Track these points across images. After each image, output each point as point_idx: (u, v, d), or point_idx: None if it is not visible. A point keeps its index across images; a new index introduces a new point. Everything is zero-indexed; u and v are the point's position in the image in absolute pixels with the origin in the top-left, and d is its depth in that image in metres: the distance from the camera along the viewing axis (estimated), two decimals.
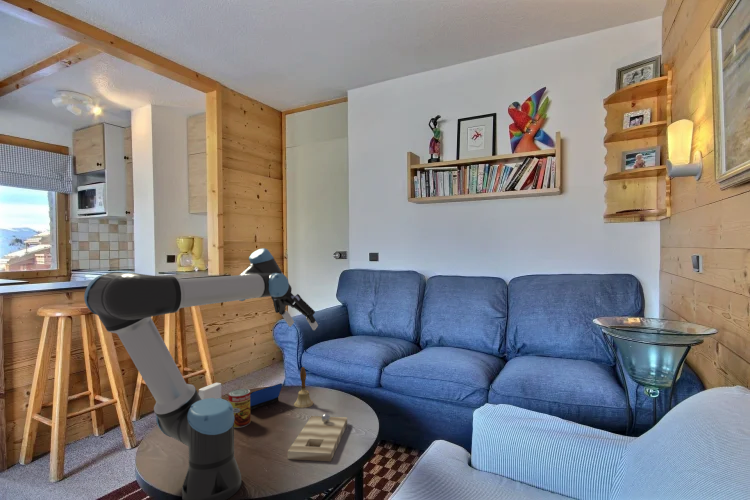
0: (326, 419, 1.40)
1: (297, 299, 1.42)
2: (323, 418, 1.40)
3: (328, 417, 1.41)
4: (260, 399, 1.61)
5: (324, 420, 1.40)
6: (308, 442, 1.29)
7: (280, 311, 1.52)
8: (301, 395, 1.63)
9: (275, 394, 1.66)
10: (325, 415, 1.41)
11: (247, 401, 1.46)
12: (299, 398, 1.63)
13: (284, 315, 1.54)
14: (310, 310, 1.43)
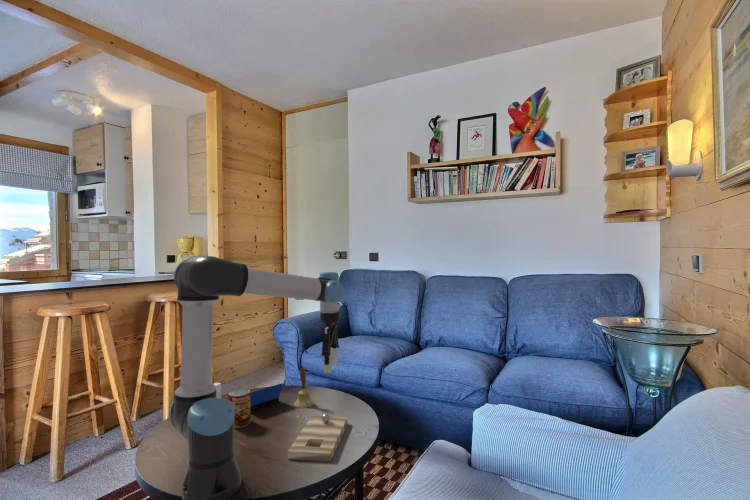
0: (326, 419, 1.40)
1: (324, 332, 1.44)
2: (323, 418, 1.40)
3: (328, 417, 1.41)
4: (260, 399, 1.61)
5: (324, 420, 1.40)
6: (308, 442, 1.29)
7: None
8: (301, 395, 1.63)
9: (275, 394, 1.66)
10: (325, 415, 1.41)
11: (247, 401, 1.46)
12: (299, 398, 1.63)
13: (331, 350, 1.55)
14: (325, 349, 1.42)
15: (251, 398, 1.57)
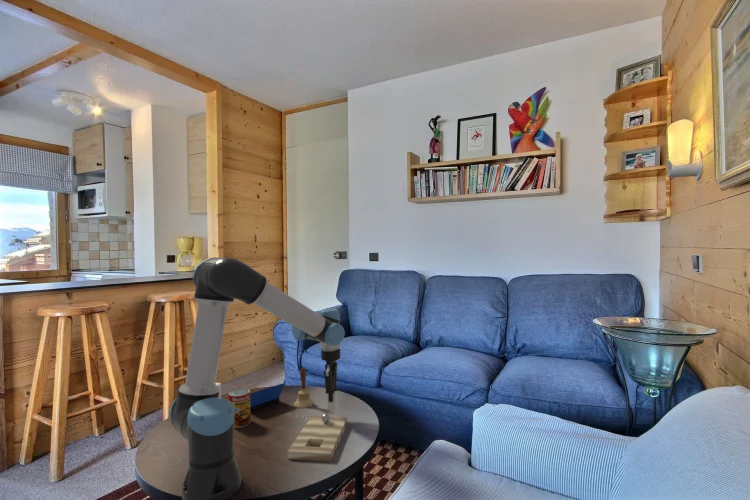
0: (326, 419, 1.40)
1: (326, 374, 1.45)
2: (323, 418, 1.40)
3: (328, 417, 1.41)
4: (261, 400, 1.61)
5: (324, 420, 1.40)
6: (308, 442, 1.29)
7: None
8: (301, 395, 1.63)
9: (276, 394, 1.66)
10: (325, 415, 1.41)
11: (247, 401, 1.46)
12: (299, 398, 1.63)
13: (329, 393, 1.50)
14: (329, 389, 1.46)
15: (252, 398, 1.56)
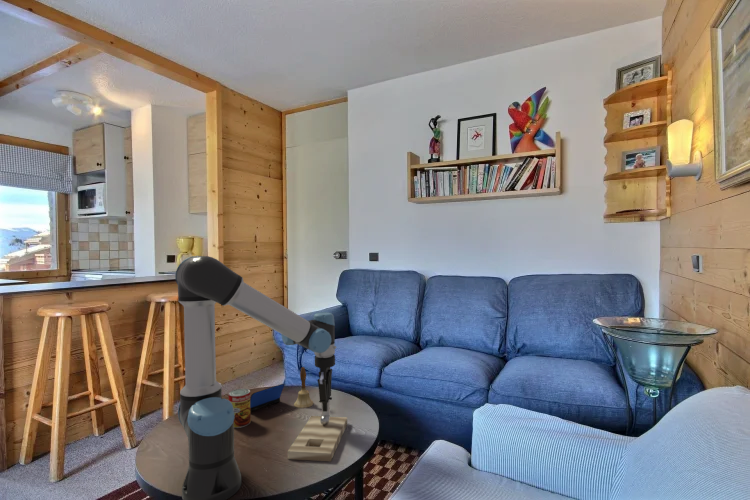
0: (325, 424, 1.39)
1: (319, 383, 1.36)
2: (322, 424, 1.39)
3: (327, 422, 1.39)
4: (262, 400, 1.61)
5: (324, 424, 1.39)
6: (308, 442, 1.29)
7: None
8: (301, 395, 1.63)
9: (277, 395, 1.66)
10: (323, 422, 1.38)
11: (247, 401, 1.46)
12: (299, 398, 1.63)
13: (323, 402, 1.42)
14: (323, 398, 1.38)
15: (253, 399, 1.56)
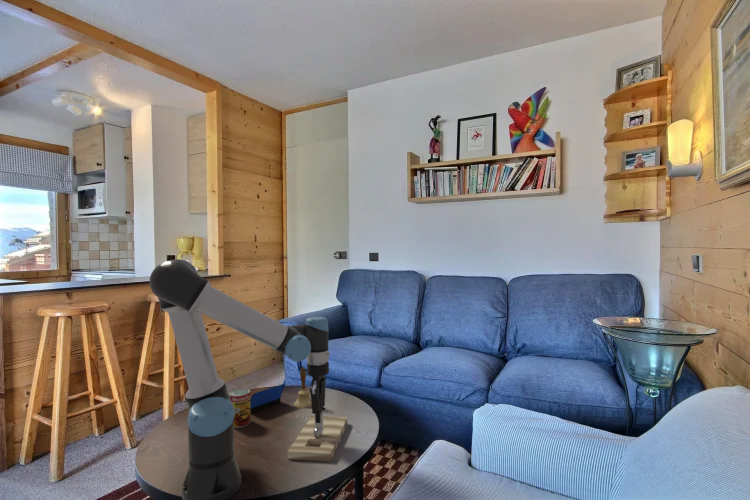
0: (318, 433, 1.29)
1: (312, 392, 1.27)
2: (315, 432, 1.29)
3: (320, 431, 1.29)
4: (262, 400, 1.60)
5: (316, 434, 1.29)
6: (308, 442, 1.29)
7: None
8: (301, 395, 1.63)
9: (277, 395, 1.65)
10: (317, 429, 1.30)
11: (247, 401, 1.46)
12: (299, 398, 1.63)
13: None
14: (316, 409, 1.28)
15: (253, 399, 1.56)
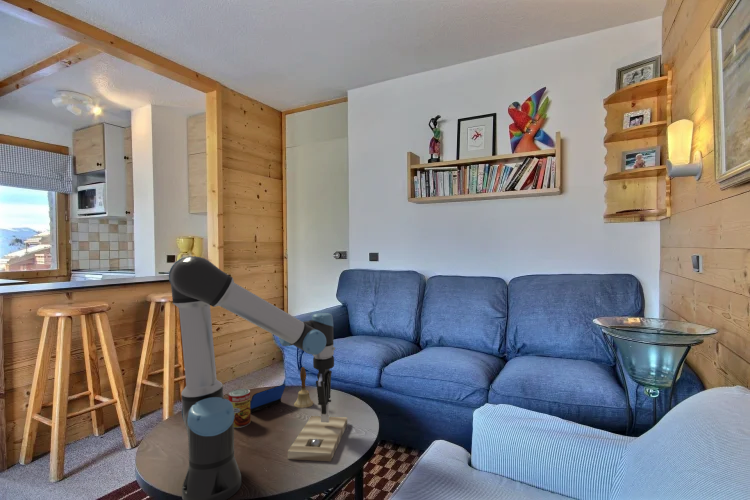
0: None
1: (318, 385, 1.33)
2: None
3: None
4: (263, 400, 1.60)
5: None
6: (308, 442, 1.29)
7: None
8: (301, 395, 1.63)
9: (278, 395, 1.65)
10: None
11: (247, 401, 1.46)
12: (299, 398, 1.63)
13: None
14: (322, 400, 1.35)
15: (254, 399, 1.55)
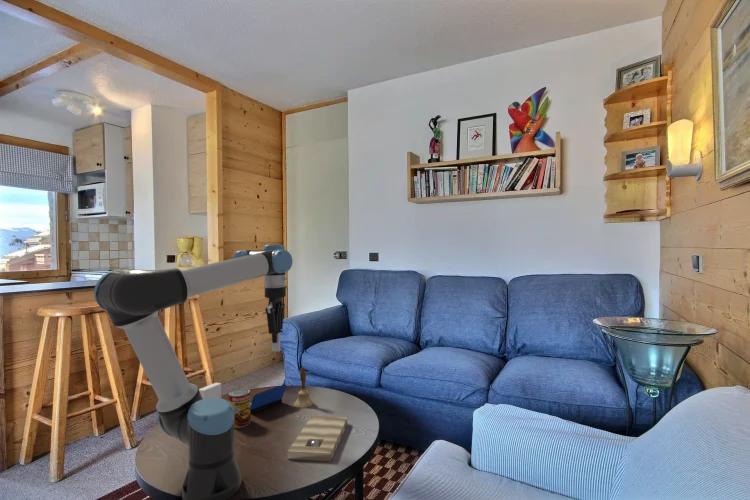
0: None
1: (267, 312, 1.35)
2: None
3: None
4: (264, 401, 1.59)
5: None
6: (308, 442, 1.29)
7: None
8: (301, 395, 1.63)
9: (279, 395, 1.65)
10: None
11: (247, 401, 1.46)
12: (299, 398, 1.63)
13: None
14: (272, 328, 1.37)
15: (255, 400, 1.55)
